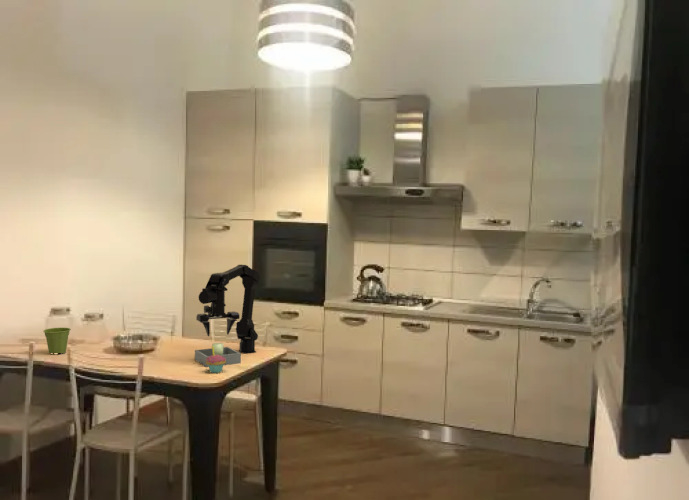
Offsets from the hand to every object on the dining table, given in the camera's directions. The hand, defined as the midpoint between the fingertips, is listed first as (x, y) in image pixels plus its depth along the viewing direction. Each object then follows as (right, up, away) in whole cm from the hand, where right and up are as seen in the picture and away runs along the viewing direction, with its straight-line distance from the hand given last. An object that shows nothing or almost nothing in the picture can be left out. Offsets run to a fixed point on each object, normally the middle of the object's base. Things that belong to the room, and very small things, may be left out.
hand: (218, 335), depth 285 cm
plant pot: (-78, -10, +10) cm, 80 cm away
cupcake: (+3, -13, -19) cm, 23 cm away
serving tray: (0, -12, -1) cm, 12 cm away
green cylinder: (0, -11, -1) cm, 11 cm away
